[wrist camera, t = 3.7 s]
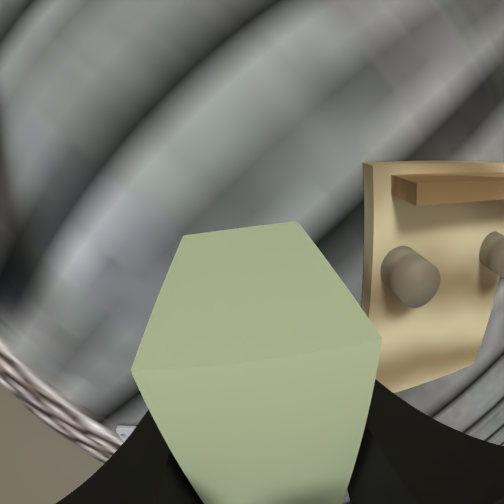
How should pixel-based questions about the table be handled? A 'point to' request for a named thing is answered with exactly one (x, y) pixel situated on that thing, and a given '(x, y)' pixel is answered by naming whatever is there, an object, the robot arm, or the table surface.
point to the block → (259, 367)
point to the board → (458, 272)
